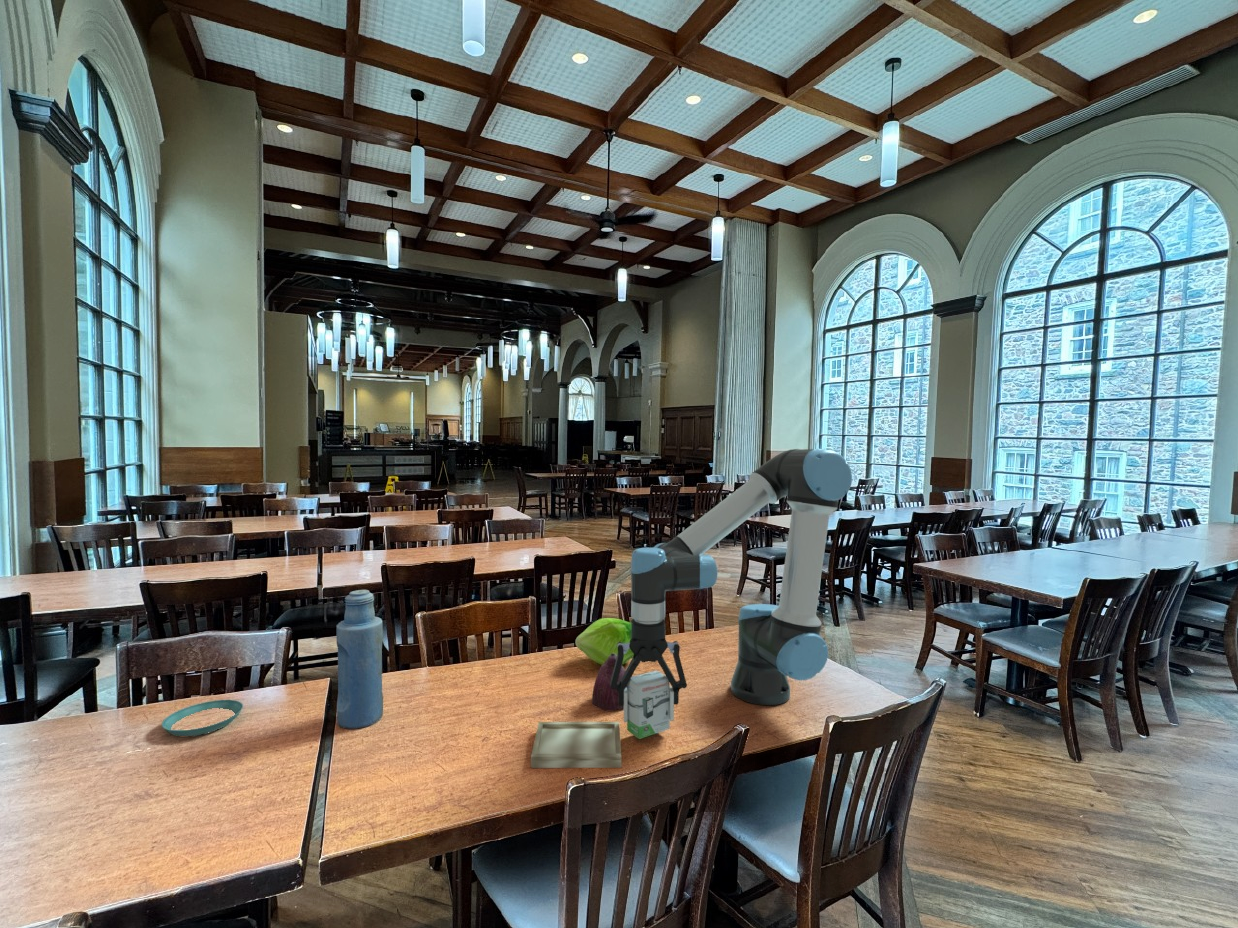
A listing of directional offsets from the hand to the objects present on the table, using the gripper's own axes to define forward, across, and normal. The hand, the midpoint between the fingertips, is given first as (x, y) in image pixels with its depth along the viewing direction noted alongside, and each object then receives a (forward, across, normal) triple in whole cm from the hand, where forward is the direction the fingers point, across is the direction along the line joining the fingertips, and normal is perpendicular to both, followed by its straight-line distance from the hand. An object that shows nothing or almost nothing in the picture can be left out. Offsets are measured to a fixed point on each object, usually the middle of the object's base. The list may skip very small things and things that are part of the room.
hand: (648, 718), depth 123 cm
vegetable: (+4, +8, -17) cm, 19 cm away
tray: (+4, +16, +5) cm, 17 cm away
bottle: (+3, +66, -8) cm, 67 cm away
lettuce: (+4, +9, -42) cm, 43 cm away
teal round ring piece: (+2, +100, -6) cm, 101 cm away
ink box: (+3, 0, 0) cm, 3 cm away
